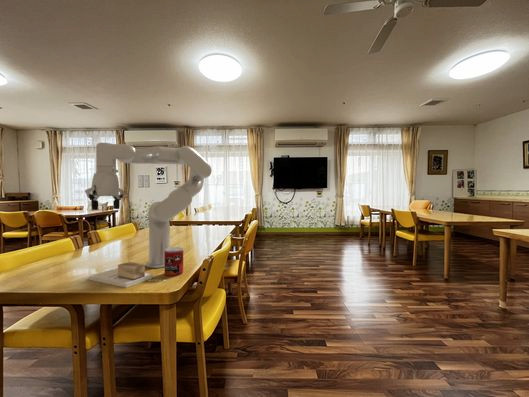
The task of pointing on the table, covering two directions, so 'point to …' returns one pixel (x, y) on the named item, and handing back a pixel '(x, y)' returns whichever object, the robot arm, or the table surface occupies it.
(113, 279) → the board
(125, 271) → the block
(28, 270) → the table surface
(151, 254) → the robot arm
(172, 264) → the canned food
